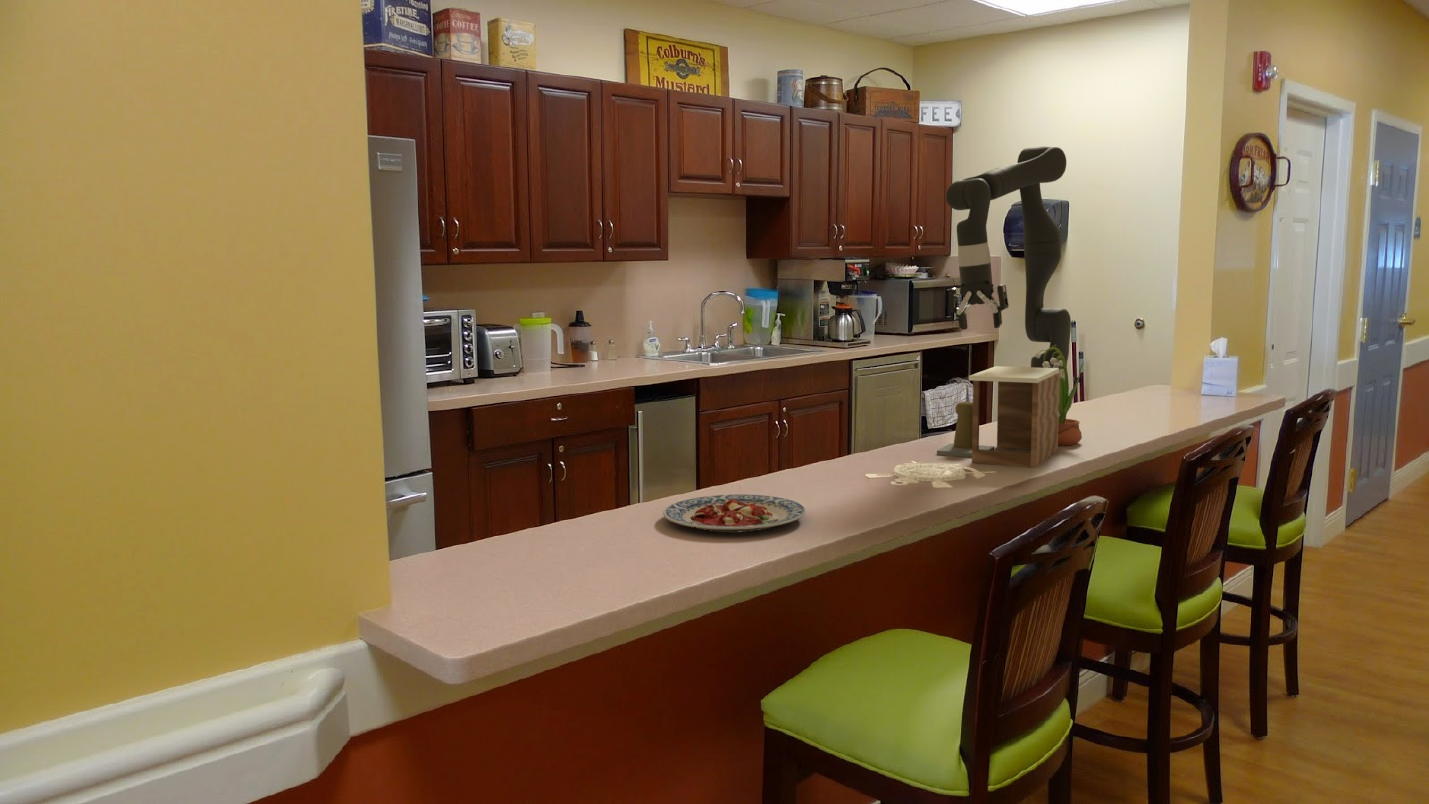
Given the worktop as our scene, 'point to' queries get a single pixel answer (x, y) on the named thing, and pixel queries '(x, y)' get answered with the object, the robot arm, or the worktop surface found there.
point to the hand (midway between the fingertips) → (980, 328)
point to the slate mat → (960, 450)
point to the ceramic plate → (734, 512)
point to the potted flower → (1064, 401)
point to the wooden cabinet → (1020, 415)
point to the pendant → (928, 473)
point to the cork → (964, 425)
